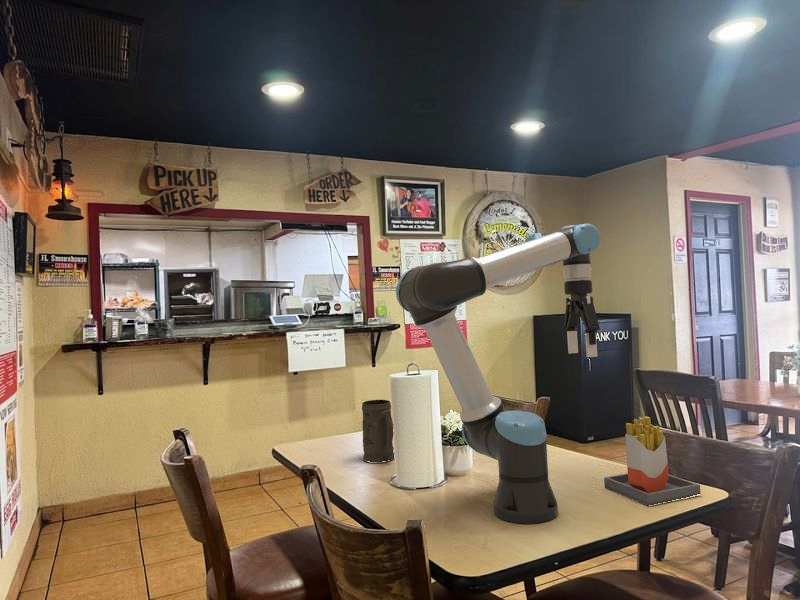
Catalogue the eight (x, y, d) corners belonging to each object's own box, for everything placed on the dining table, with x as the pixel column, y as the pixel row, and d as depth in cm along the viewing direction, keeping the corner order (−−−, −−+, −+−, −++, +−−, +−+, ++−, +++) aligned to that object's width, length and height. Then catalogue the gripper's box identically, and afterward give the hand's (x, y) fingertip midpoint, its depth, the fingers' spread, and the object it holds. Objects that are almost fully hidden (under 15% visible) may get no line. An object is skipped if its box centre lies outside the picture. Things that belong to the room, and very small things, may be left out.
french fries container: (670, 487, 146) (666, 417, 146) (644, 497, 140) (640, 424, 140) (654, 483, 150) (650, 415, 150) (628, 492, 144) (624, 421, 144)
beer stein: (355, 459, 194) (354, 401, 193) (380, 453, 201) (379, 397, 200) (384, 470, 182) (383, 409, 182) (409, 463, 189) (408, 403, 189)
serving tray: (649, 506, 136) (648, 494, 136) (604, 488, 151) (604, 477, 151) (700, 496, 141) (700, 484, 141) (652, 479, 156) (652, 468, 156)
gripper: (609, 276, 149) (614, 357, 149) (574, 281, 174) (578, 351, 174) (581, 278, 148) (586, 359, 148) (550, 283, 173) (554, 352, 173)
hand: (582, 355), depth 161 cm, fingers open, 13 cm apart
